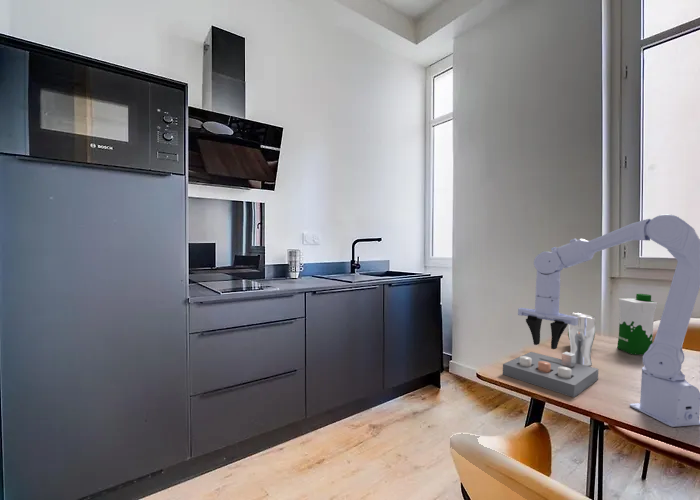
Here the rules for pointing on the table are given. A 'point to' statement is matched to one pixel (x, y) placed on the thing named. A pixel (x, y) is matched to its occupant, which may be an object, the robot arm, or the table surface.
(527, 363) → the far button
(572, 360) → the slider knob
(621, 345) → the milk carton
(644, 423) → the table surface
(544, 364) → the middle button
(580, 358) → the beer glass
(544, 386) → the control panel
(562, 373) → the near button
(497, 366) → the table surface
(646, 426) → the table surface
